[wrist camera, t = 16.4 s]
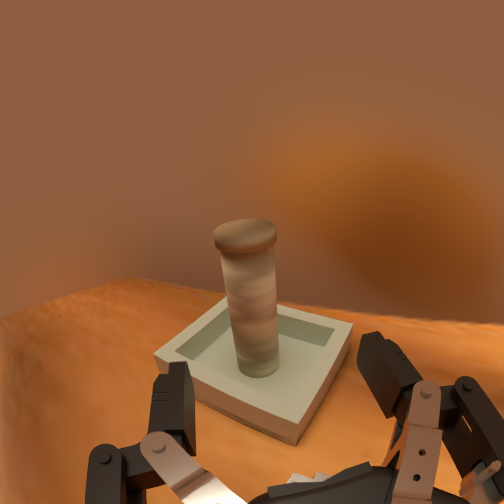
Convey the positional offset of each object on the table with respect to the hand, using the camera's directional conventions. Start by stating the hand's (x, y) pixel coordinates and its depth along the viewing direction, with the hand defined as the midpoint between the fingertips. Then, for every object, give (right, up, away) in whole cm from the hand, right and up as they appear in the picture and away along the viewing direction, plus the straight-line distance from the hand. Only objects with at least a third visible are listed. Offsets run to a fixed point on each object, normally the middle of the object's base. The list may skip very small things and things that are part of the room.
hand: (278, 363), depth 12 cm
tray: (0, -8, +18) cm, 19 cm away
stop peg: (0, -7, +17) cm, 19 cm away
